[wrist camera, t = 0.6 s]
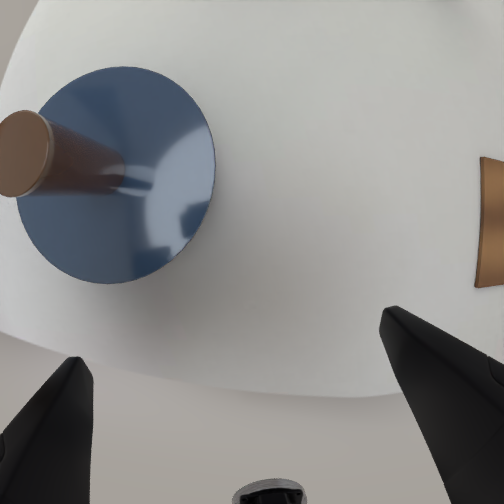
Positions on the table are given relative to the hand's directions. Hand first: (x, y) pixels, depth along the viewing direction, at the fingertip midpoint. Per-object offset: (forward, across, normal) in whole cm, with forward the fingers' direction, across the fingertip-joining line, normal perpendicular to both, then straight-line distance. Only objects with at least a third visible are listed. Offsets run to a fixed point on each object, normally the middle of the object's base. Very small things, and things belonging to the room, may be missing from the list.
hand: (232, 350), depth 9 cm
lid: (+10, +5, -3) cm, 12 cm away
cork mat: (+12, -28, +6) cm, 31 cm away
